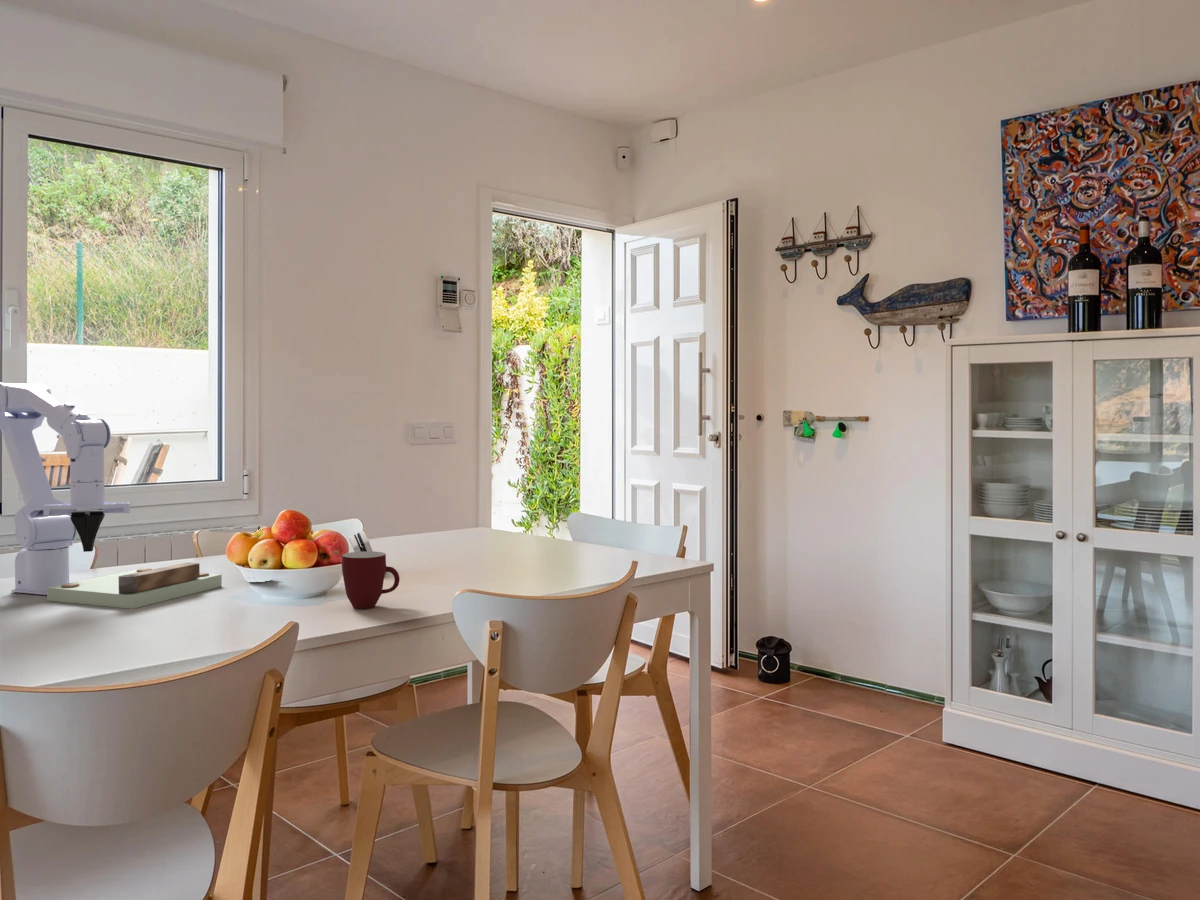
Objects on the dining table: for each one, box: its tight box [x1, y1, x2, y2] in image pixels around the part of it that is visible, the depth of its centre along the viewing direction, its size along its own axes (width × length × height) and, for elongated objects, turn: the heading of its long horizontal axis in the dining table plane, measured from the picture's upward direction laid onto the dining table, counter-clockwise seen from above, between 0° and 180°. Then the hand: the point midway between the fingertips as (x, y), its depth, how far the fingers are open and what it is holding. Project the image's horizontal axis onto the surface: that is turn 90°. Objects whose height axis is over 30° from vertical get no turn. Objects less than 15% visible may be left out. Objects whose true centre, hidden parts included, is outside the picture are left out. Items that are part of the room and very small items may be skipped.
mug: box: [341, 550, 401, 610], centre depth 166 cm, size 10×8×10 cm
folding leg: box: [119, 562, 201, 594], centre depth 171 cm, size 18×3×3 cm, turn 161°
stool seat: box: [46, 567, 223, 610], centre depth 177 cm, size 21×23×3 cm
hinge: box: [348, 530, 387, 575], centre depth 207 cm, size 17×5×10 cm, turn 20°
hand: (88, 550), depth 171 cm, fingers closed
